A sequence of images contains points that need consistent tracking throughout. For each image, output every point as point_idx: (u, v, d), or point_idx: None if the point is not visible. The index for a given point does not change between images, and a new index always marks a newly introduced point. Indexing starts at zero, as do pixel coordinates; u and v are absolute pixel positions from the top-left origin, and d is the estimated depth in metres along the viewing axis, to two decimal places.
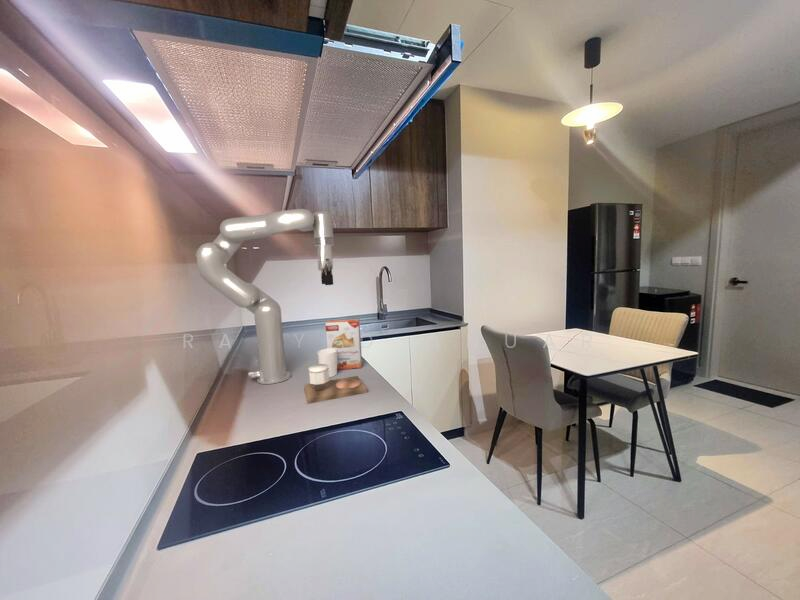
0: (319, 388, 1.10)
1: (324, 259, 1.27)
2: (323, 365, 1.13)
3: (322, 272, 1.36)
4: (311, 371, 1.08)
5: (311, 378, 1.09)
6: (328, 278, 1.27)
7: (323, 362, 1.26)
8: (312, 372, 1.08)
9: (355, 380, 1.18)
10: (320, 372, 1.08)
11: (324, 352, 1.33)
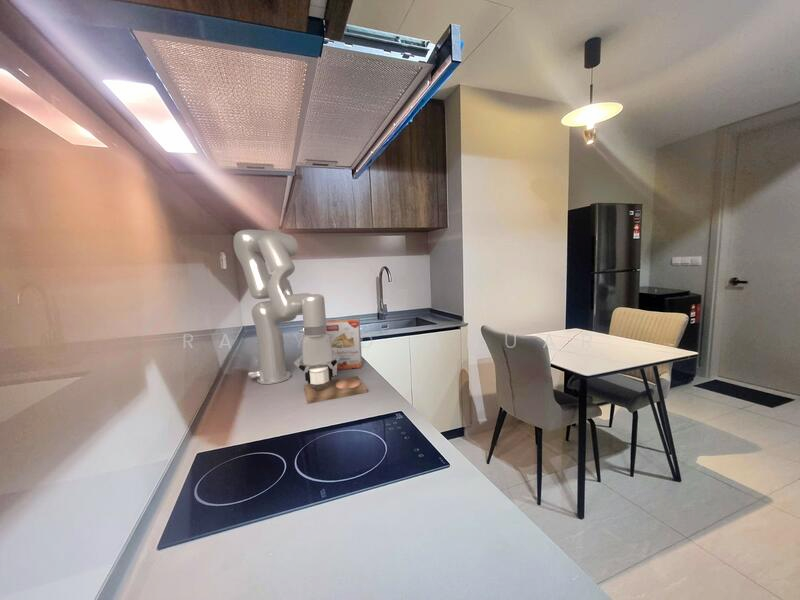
0: (319, 388, 1.10)
1: None
2: (323, 365, 1.13)
3: (308, 368, 1.09)
4: (311, 371, 1.08)
5: (311, 378, 1.09)
6: None
7: None
8: (312, 372, 1.08)
9: (355, 380, 1.18)
10: (320, 372, 1.08)
11: None
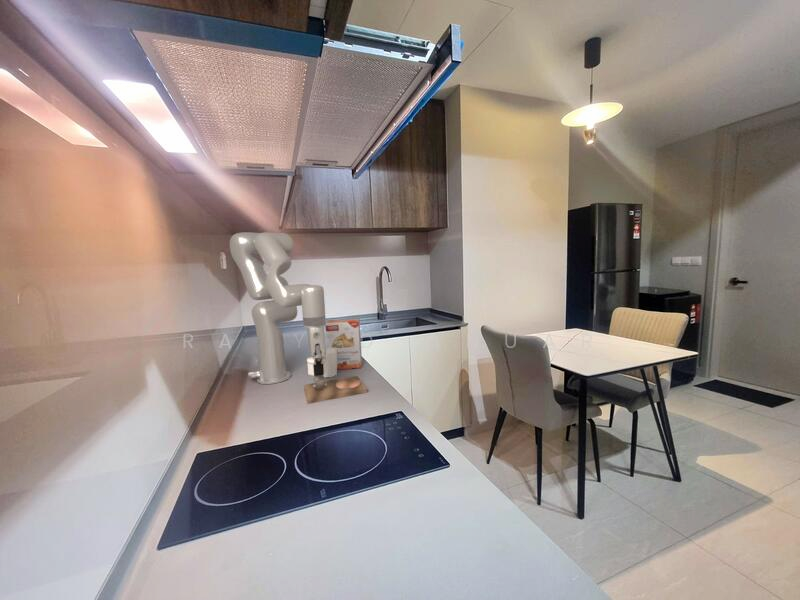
0: (319, 388, 1.10)
1: None
2: None
3: None
4: (323, 360, 1.09)
5: (323, 368, 1.09)
6: None
7: None
8: (324, 361, 1.10)
9: (355, 380, 1.18)
10: None
11: None
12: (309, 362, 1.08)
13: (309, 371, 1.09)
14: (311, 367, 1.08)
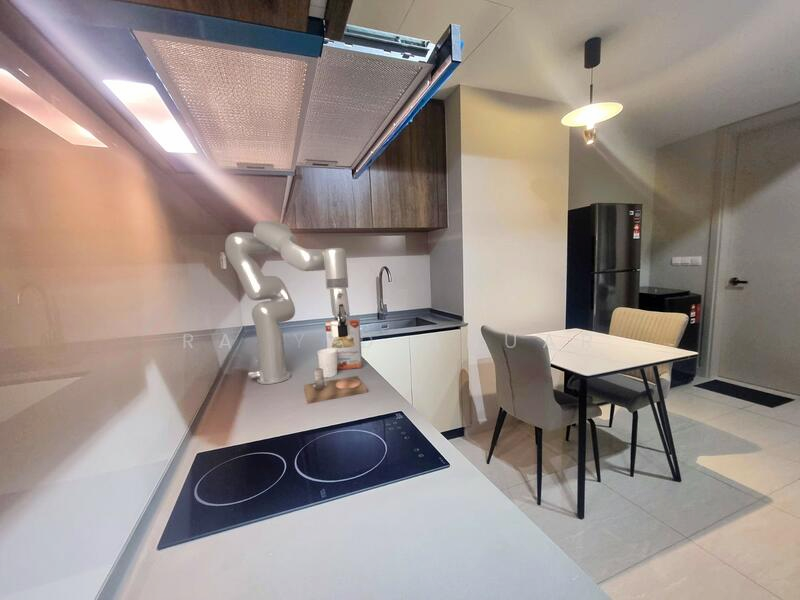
0: (319, 388, 1.10)
1: None
2: (336, 320, 1.13)
3: None
4: (347, 322, 1.10)
5: None
6: None
7: (323, 362, 1.26)
8: (348, 323, 1.11)
9: (355, 380, 1.18)
10: None
11: (324, 352, 1.33)
12: (333, 324, 1.09)
13: (333, 333, 1.10)
14: (335, 329, 1.09)
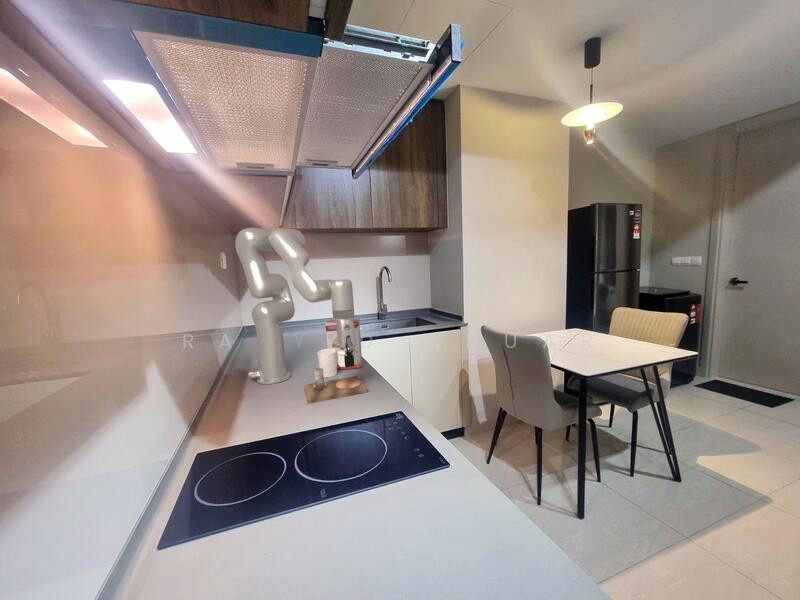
0: (319, 388, 1.10)
1: None
2: (342, 349, 1.15)
3: None
4: (353, 352, 1.12)
5: None
6: None
7: (323, 362, 1.26)
8: (354, 353, 1.13)
9: (355, 380, 1.18)
10: None
11: (324, 352, 1.33)
12: (340, 354, 1.11)
13: (340, 363, 1.12)
14: (342, 359, 1.11)
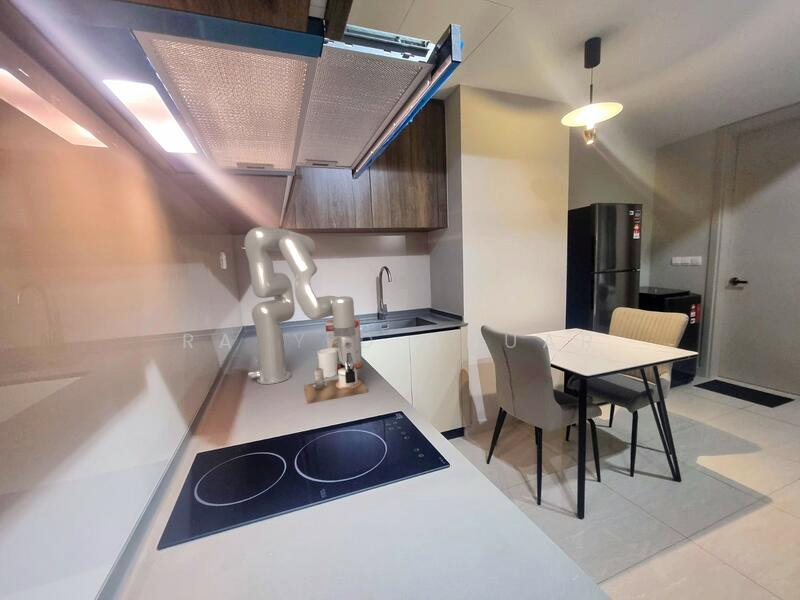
0: (319, 388, 1.10)
1: None
2: (343, 368, 1.16)
3: None
4: None
5: None
6: None
7: (323, 362, 1.26)
8: (355, 373, 1.14)
9: None
10: None
11: (324, 352, 1.33)
12: (341, 374, 1.12)
13: (340, 383, 1.13)
14: (343, 379, 1.12)
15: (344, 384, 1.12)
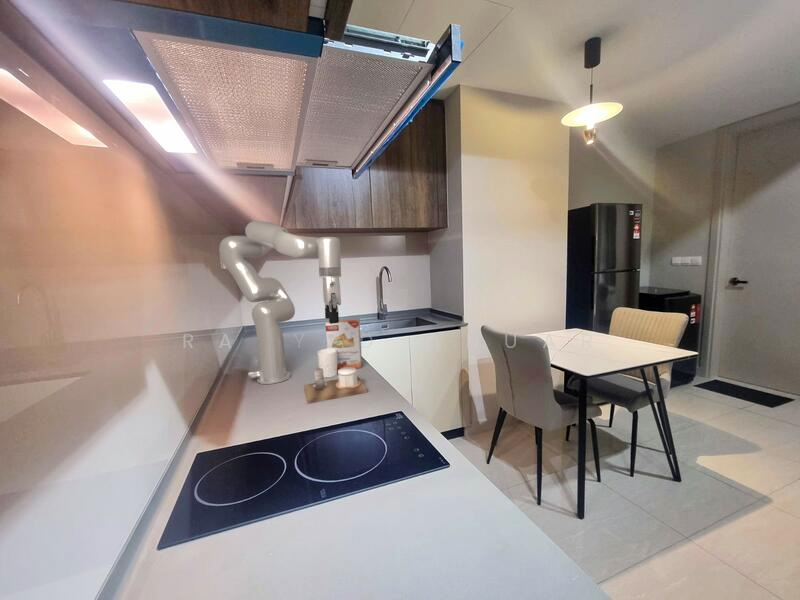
0: (319, 388, 1.10)
1: None
2: (343, 368, 1.16)
3: None
4: (354, 372, 1.13)
5: (354, 379, 1.13)
6: None
7: (323, 362, 1.26)
8: (355, 373, 1.14)
9: None
10: None
11: (324, 352, 1.33)
12: (341, 374, 1.12)
13: (340, 383, 1.13)
14: (343, 379, 1.12)
15: (344, 384, 1.12)
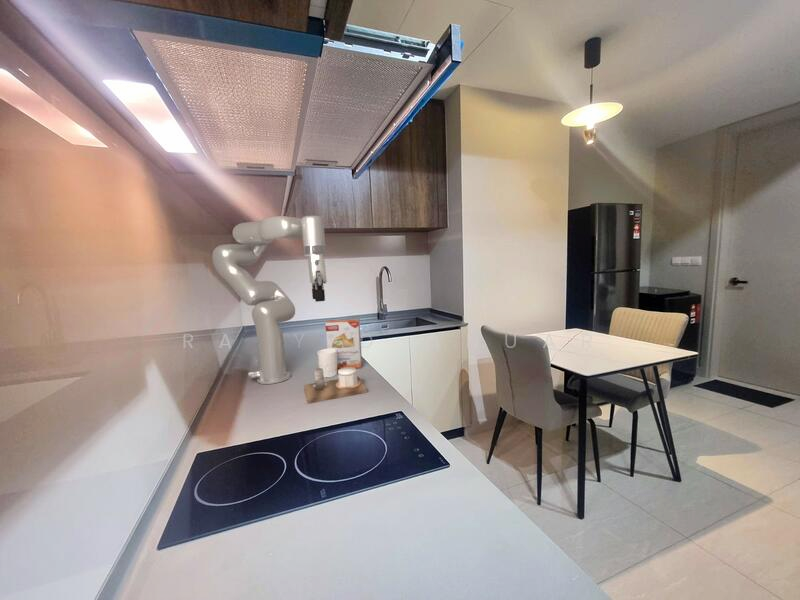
0: (319, 388, 1.10)
1: None
2: (343, 368, 1.16)
3: None
4: (354, 372, 1.13)
5: (354, 379, 1.13)
6: None
7: (323, 362, 1.26)
8: (355, 373, 1.14)
9: None
10: None
11: (324, 352, 1.33)
12: (341, 374, 1.12)
13: (340, 383, 1.13)
14: (343, 379, 1.12)
15: (344, 384, 1.12)
